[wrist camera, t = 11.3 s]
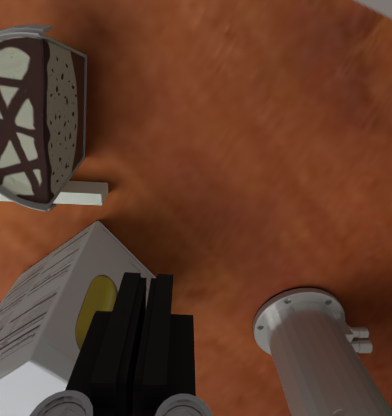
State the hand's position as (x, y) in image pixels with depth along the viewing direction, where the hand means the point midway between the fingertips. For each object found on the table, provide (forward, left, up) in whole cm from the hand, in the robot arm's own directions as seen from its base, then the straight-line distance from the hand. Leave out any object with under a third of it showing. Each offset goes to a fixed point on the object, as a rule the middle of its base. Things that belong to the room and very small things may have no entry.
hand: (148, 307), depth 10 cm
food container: (+11, -3, -22) cm, 25 cm away
